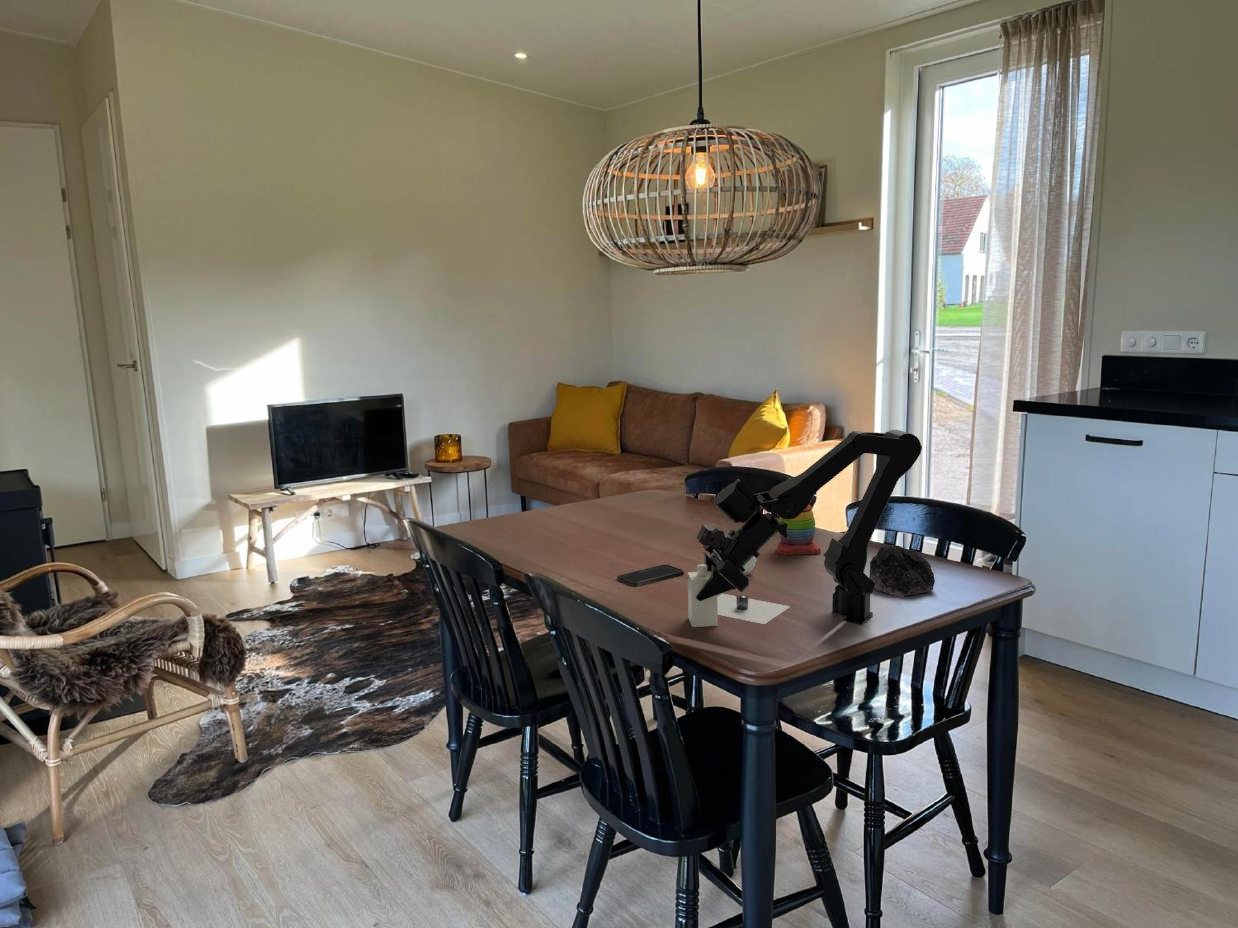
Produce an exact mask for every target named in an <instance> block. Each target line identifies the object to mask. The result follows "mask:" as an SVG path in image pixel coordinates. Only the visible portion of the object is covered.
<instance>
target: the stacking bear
mask: <svg viewBox="0 0 1238 928" xmlns="http://www.w3.org/2000/svg"><path fill="white" fill-rule="evenodd" d="M814 515H815V514H814V511H813V508H812V506H811V505H810V504H809V505H808V506H807V507H806V508H805V509H804V510H803V512H802V513H801V514H800V515H799V516H798V517H796V518H794V519H791V520H790V519H783V518H781V517H779V516H778V519H777V520H778V521H780V522H781V521H785V522H786V523H787V524H788V526H787V535H788V536H787V538H784V537H783V536H782V535H781V534H780V533H779V532H778V533H779V538H780V541H779V542H778V544H777V546H776V547H777V548H776V551H777V553H778V554H779V555H781V556H793V555H801V554H802V555H803V554H805V555H818V554H820V553H821V552H822V550H821V547H820V546H819V545H818V544H817V543H816V542H814V536H815V533H816V532H815V530H816V520H815V517H814Z"/></svg>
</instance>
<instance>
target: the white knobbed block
mask: <svg viewBox="0 0 1238 928" xmlns="http://www.w3.org/2000/svg"><path fill="white" fill-rule="evenodd" d="M711 574H712V571H707V565H705V563H702V564H701V563H700V564H697V565H696V571H690V572H689V571H688V572H687V608H688V609H687V611H688V613H687V614H688V615H687V616H688V618H687V619H688V620H689V623H690V626H691V627H692V628H698V627H699V628H700V627H703V628H704V627H717V626H718V625H719V624H718V623H719V622H718V621H719V619H718V617H719V615H718V609H717V596H718V595H715V596H713V597H710V598H707V599H705V600H702V601H699V600H698V599H697V598H696V596H697V595H698V593H699V592H700V590H701V589H702V588H703V586H704V585H705V584H706V582H707V581H708V580H709V578H710V577H711Z"/></svg>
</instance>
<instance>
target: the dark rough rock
mask: <svg viewBox="0 0 1238 928" xmlns="http://www.w3.org/2000/svg"><path fill="white" fill-rule="evenodd" d="M868 577H869V578H870V579H871V580H872V581H873V582H874V583H875V586H874V589H875V590H876V591H878V592H883V593H886V594H889V595H891V596H894V597H908V596H911V595H912V596H913V595H916V594H917V595H919V594H923V593H929V592H931V591H933V590H934V586H935V584H936V579H935V574H934V572H933V569H932V565H931V564H930V563H929V561H928V560H927V559H925V557H923V555H919V554H918V553H917V552H916V551H915V550H912V549H907V548H905V547H902V546H901V545H896V544H892V545H890V546H889V545H883V546H881V547H880V548H879V550H878V551H877V552H876V555H874V556H872V558H871V560H870V561H869V576H868Z"/></svg>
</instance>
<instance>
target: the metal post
mask: <svg viewBox="0 0 1238 928" xmlns="http://www.w3.org/2000/svg"><path fill="white" fill-rule="evenodd" d="M735 596H736V601H737V609H739V610H747V609H748V598H749V595H747V594H738V595H735Z"/></svg>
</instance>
